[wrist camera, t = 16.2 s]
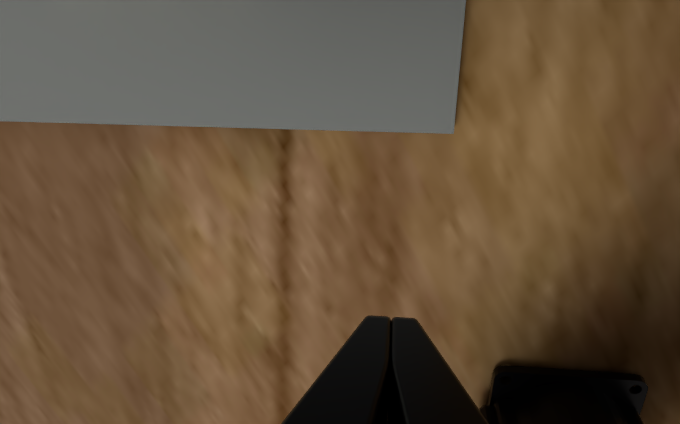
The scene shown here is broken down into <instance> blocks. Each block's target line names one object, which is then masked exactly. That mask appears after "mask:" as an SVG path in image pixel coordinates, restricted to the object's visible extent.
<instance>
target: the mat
mask: <svg viewBox="0 0 680 424" xmlns="http://www.w3.org/2000/svg"><path fill="white" fill-rule="evenodd" d="M465 5H466V0H0V121H16V122H52V123H88V124H123V125H159V126H195V127H231V128H267V129H302V130H338V131H374V132H410V133H446V134H454V124H455V113H456V102H457V91H458V81H459V70H460V59H461V48H462V38H463V27H464V16H465Z"/></svg>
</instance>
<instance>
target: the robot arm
mask: <svg viewBox="0 0 680 424" xmlns="http://www.w3.org/2000/svg"><path fill="white" fill-rule="evenodd" d="M503 376H508V377H507V378H501V377H503ZM634 385H637V386H635V387H632V386H634ZM647 391H648V386H647V385H646V383H645V381H644V379H643V377H641V376H640V375H636V374H624V373H609V372H594V371H579V370H565V369H550V368H535V367H520V366H499V367H497V368H496V369H495V370H494V371H493V373H492V380H491V386H490V392H489V399H488V405H483V406H482V407H481V408H480V410H479V409H478V408H477V406H476V405H475V403H474V402H473V400H472V399H471V397H470V396H469V395H468V393H467V392H466V390H465V389H464V387H463V386H462V384H461V383H460V381H459V380H458V379H457V377H456V376H455V374H454V373H453V371H452V370H451V368H450V367H449V365H448V364H447V363H446V361H445V360H444V358H443V357H442V355H441V354H440V352H439V351H438V350H437V348H436V347H435V345H434V344H433V342H432V341H431V339H430V338H429V336H428V335H427V334H426V332H425V331H424V329H423V328H422V326H421V325H420V323H419V322H418V321H417V320H416V319H415V318H403V317H394V318H393V319H392V321H391V319H390V318H389V317H386V316H367V317H365V318H364V320H363V321H362V322H361V323H360V325H359V326H358V327H357V329H356V330H355V331H354V332H353V334H352V335H351V336H350V337H349V339H348V340H347V341H346V342H345V344H344V345H343V346H342V348H341V349H340V350H339V351H338V353H337V354H336V355H335V356H334V358H333V359H332V360H331V361H330V363H329V364H328V365H327V367H326V368H325V369H324V370H323V372H322V373H321V374H320V375H319V377H318V378H317V379H316V380H315V382H314V383H313V384H312V386H311V387H310V388H309V389H308V391H307V392H306V393H305V394H304V396H303V397H302V398H301V399H300V401H299V402H298V403H297V404H296V406H295V407H294V408H293V410H292V411H291V412H290V413H289V415H288V416H287V417H286V418H285V420H284V421H283V422H282V423H281V424H644V423H643V421H642V420H641V418H640V416H639V415H640V412H641V409H642V406H643V403H644V400H645V397H646V394H647Z"/></svg>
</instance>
